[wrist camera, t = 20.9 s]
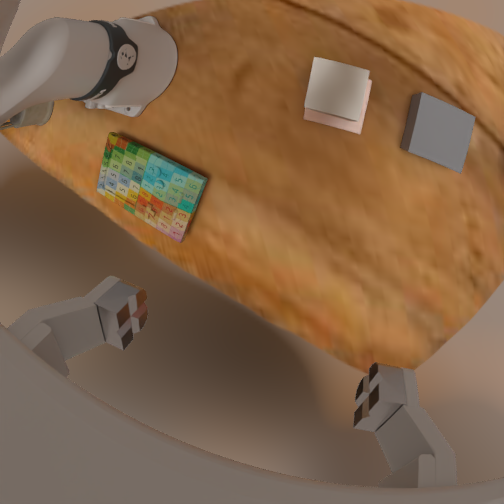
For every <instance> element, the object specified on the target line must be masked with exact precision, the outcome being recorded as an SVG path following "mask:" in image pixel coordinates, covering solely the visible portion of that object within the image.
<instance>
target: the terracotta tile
mask: <svg viewBox="0 0 504 504" xmlns="http://www.w3.org/2000/svg"><path fill="white" fill-rule="evenodd" d="M371 83H372V80H369V79H368V81H367V86H366V91H365V95H364V100H363V104H362V109H361V113H360V118H359V121H349V120H346V119H342V118H338V117H335V116H331V115H327V114H323V113H320V112H316V111H313V110H311V109H308V108H305V113H304V118H303V119H305V120H309V121H313V122H317V123H321V124H325V125H329V126H333V127H337V128H340V129H344V130H347V131H351V132H354V133H357V134H360V133H361V129H362V125H363V121H364V116H365V112H366V107H367V103H368V98H369V93H370V88H371Z"/></svg>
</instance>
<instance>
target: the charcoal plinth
mask: <svg viewBox="0 0 504 504" xmlns="http://www.w3.org/2000/svg"><path fill="white" fill-rule="evenodd" d="M474 121H475V117H474V116H472V115H470V114H468V113H466V112H464V111H462V110H460V109H458V108H456V107H454V106H452V105H450V104H448V103H446V102H443V101H441V100H439V99H437V98H434V97H432V96H430V95H427V94H425V93H423V92H421V93H418V94H415V95H412V100H411V105H410V109H409V114H408V118H407V122H406V127H405V131H404V135H403V139H402V143H401V147H400V148H402V149H404V150H406V151H408V152H411V153H413V154H416V155H418V156H421V157H424V158H426V159H428V160H431V161H433V162H436V163H438V164H440V165H443V166H445V167H447V168H449V169H452V170H454V171H456V172H458V173H460V174H461V172H462V168H463V165H464V162H465V158H466V154H467V151H468V147H469V143H470V139H471V134H472V130H473V126H474Z"/></svg>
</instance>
